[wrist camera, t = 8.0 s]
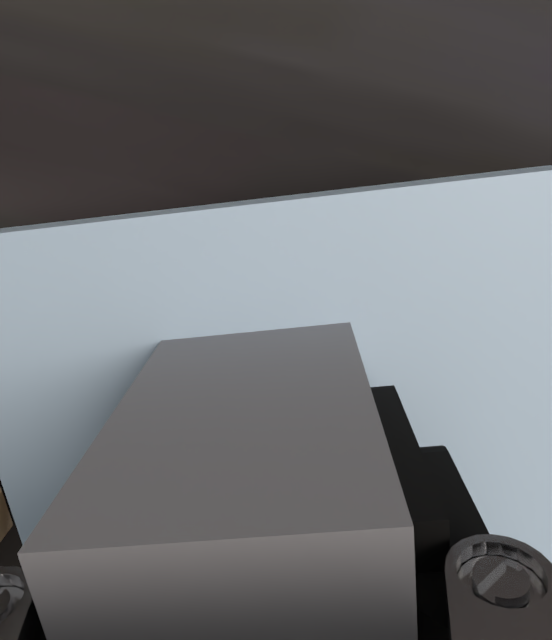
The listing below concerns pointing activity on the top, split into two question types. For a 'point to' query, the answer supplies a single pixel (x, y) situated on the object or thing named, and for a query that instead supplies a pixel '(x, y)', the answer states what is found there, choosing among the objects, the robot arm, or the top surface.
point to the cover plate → (300, 267)
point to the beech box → (4, 517)
